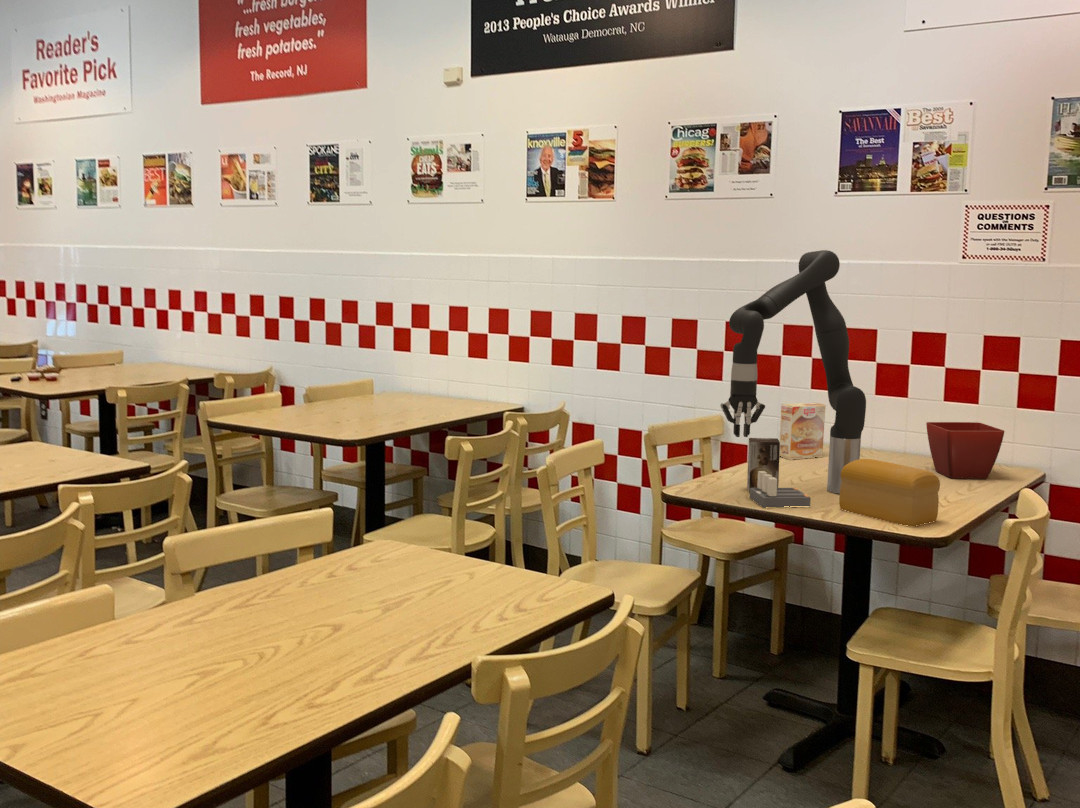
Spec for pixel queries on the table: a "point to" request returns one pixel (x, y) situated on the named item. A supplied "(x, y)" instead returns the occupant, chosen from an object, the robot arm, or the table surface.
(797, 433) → the coffeecake box
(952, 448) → the plant pot
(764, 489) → the tab
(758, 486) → the tab
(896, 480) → the bread
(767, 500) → the switch panel
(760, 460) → the coffee box
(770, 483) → the tab
